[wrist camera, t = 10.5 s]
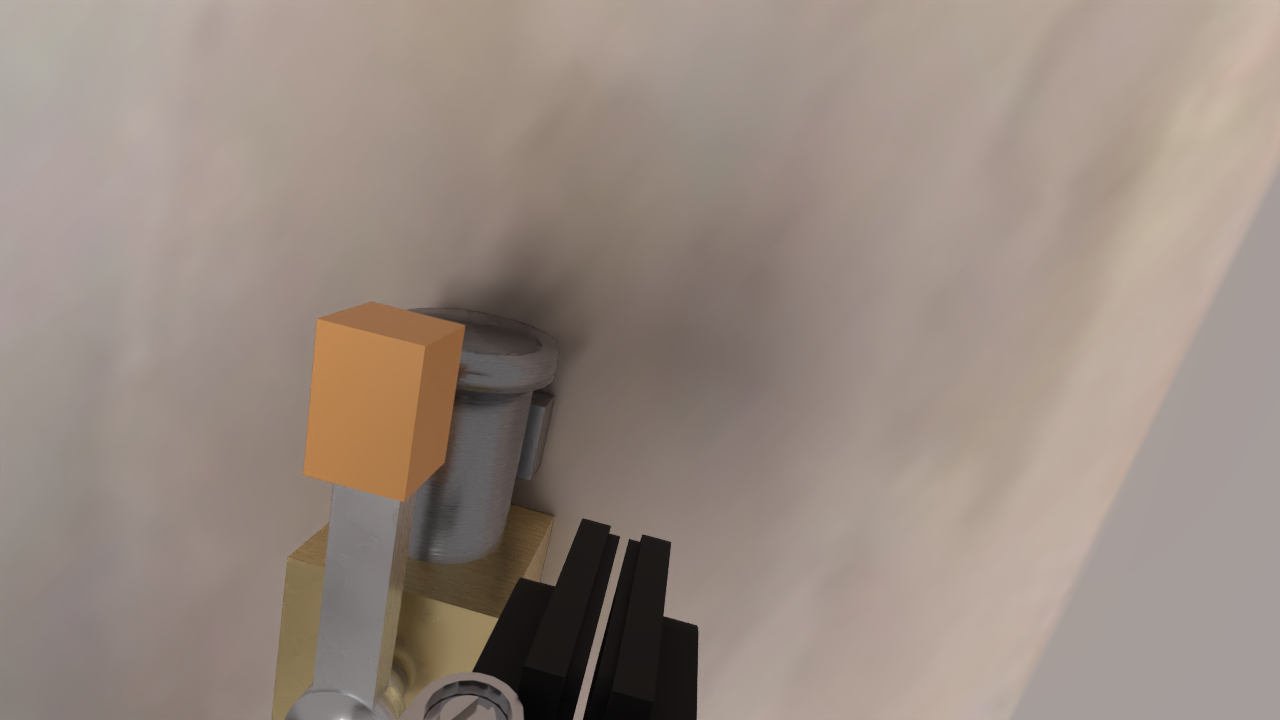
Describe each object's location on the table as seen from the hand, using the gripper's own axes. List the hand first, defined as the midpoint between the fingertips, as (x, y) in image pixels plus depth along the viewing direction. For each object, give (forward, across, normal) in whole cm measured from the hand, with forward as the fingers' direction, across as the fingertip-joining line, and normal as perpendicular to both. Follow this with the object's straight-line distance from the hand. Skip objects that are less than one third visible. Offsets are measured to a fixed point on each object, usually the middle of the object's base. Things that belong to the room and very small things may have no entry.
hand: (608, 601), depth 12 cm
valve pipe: (+13, +6, +10) cm, 18 cm away
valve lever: (+6, +7, +4) cm, 10 cm away
